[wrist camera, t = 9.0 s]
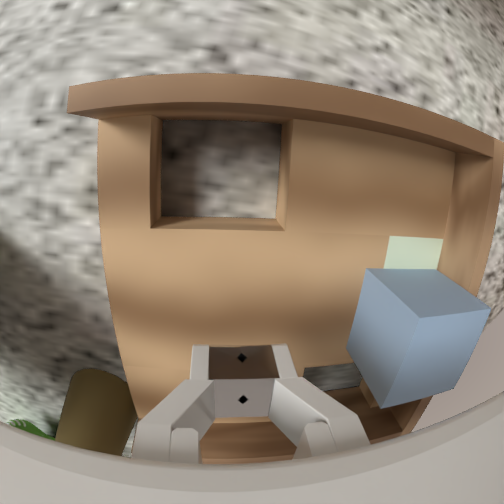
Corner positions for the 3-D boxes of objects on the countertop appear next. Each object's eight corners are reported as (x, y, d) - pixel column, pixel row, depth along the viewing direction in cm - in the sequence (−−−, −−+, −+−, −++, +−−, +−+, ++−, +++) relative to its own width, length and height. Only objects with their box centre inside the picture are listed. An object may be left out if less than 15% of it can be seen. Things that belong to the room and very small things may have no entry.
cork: (68, 357, 17) (9, 475, 7) (144, 383, 19) (116, 520, 8) (73, 406, 19) (36, 507, 9) (138, 427, 20) (120, 539, 10)
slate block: (365, 268, 14) (419, 318, 10) (435, 269, 15) (491, 308, 10) (345, 348, 16) (380, 408, 11) (412, 340, 16) (453, 388, 12)
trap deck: (118, 105, 13) (69, 86, 7) (441, 138, 15) (504, 143, 10) (146, 402, 19) (134, 459, 14) (381, 390, 21) (408, 435, 16)
